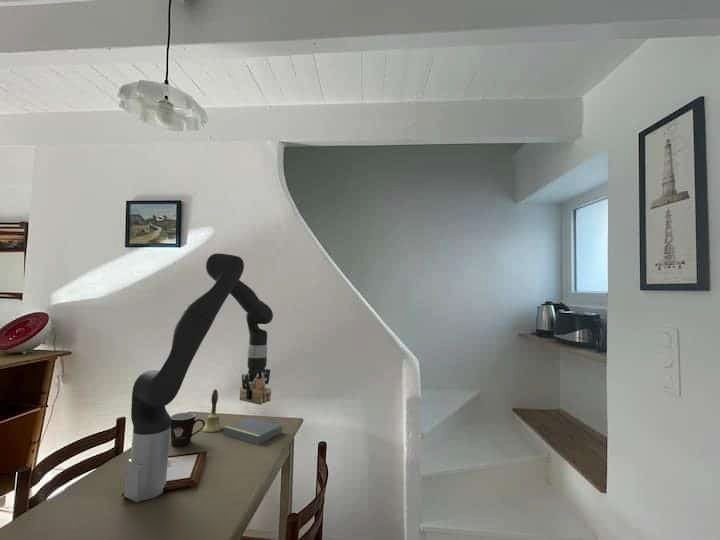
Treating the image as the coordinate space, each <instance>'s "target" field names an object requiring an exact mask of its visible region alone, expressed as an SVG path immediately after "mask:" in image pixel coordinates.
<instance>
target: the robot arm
mask: <svg viewBox="0 0 720 540" xmlns="http://www.w3.org/2000/svg"><path fill="white" fill-rule="evenodd" d="M205 269H206V272H207V274H208V276H209V277H210V278H211V279H212V280H214V281H215V283H213V285H212V287H210V289H208V290H207V291H206V292H205V293H203V294H202V295H200V296H199V297H198V298H196V299H195V300H194V301H192V302H191V303H189V305H187V306H186V308H185V309H184V311H183V312H182V315H181V316H180V318H179V319H178V321H177V322H176V325H175V328H174V331H173V336H172V337H173V338H172V341H171V342H172V343H171V344H172V345H171V349H170V352H169V354H168V357H167V358H166V360H165V362H164V363H163V365H162V366H161V368H160V370H157V369H151V370H146V371H144V372H142V373H141V374H140V375H138V377H137V378H136V379H135V381H134V384H133V387H132V392H131V405H130V406H131V410H130V411H131V412H130V416H131V417H130V418H131V422H132V426H133V428H132V440H131V451H130V459H128V460H127V461H126V469H125V470H126V471H125V481H124V490H123V491H124V492H123V496H124V497H125V498H127V499H128V500H131V501H132V502H134V503H139V502H142V501H147V500H151V499H154V498H157V497H158V496H160V495H162V494H163V493H164V492H163V488H164V486H165V484H166V485H167V476H168V475H167V474H168V462H169V461H168V460H169V448H170V438H171V427H170V425H171V415H170V414H169V413H168V411H167V409H166V406H167V405H169V404H170V403H171V402H172V401H173V400H175V398H176V396H177V395H178V393H179V391H180V389H181V387H182V384H183V382H184V381H185V377H186V376H187V375H186V374H187V373H188V370H189V367H190V366H191V363H192V362H193V359H194V358H195V356H196V354H197V352H198V350H199V348H200V346H201V345H202V343H203V341H204V339H205V337H206V336H207V334H208V332H209V330H210V329H211V326H212V325H213V323H214V321H215V319H216V318H217V317H216V316H217V315H218V314H219V312H220V310H221V308H222V306H223V305H224V303H225V302H226V299H228V297H229V295H231V296H232V297H233V299H235V300H236V302H237V303H238V305H240V307H241V308H242V310H244V312H246V315H245V318H246V324H247V327H248V333H249V339H248V341H249V343H248V350H247V368H248V371H247V373H242V374H241V384H242V385H241V387H242V388H243V389H246V398H247V400H251V399H252V389H253V386H254V385H255V383H256V379H258V378H263V387H266V385H268V384H270V377H271V369H269V368H266V367H267V363H268V362H267V361H268V332H267V330H265V329H262V328H261V327H260V326H259V325H268V324H270V323H271V322H272V321H273V318H274V314H273V311H272V308H271V307H270V306H269V305H268V304H266V303H265V302H263V301H262V300H260V299H259V297H258V295H257V294H256V293H255V291H254V290H253V289H252V288H251V287H250V286H248V285H247V284H246V283H245V282H244V281H243V282H242V281H241V280H240V279H241V277H242V275H243V273H244V269H245V262H244V260H243V258H242V257H240V256H238V255H234V254H227V253H218V252H217V253H214V254H211V255H210V256H209V257H208V258H207V260H206V264H205ZM250 380H251V381H253V382H250ZM250 384H251V386H250ZM249 386H250V387H249Z"/></svg>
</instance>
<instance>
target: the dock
mask: <svg viewBox="0 0 720 540" xmlns="http://www.w3.org/2000/svg"><path fill="white" fill-rule="evenodd" d="M279 433H281V434H282V433H283V425H281V424H277V423H273V422H270V421H266V420H261V419H257V418H253V417H247V418H244V419H243V420H239V421H236V422H234V423H231V424H229V425H225V426H223V436H225V437H230V438H233V439H236V440H239V441H244V442H246V443H250V444H253V445H256V446H258V445H260V444H262V443H264V442H266V441H268V440H270V438H271V439H273V438H274V436H275V437H277V436H279V435H280V434H279ZM278 434H279V435H278ZM276 435H277V436H276ZM272 437H273V438H272Z"/></svg>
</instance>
